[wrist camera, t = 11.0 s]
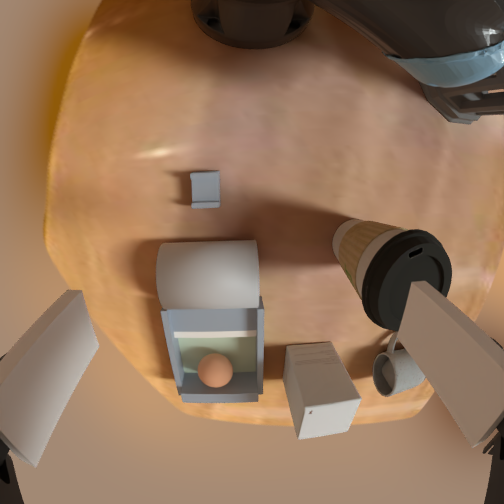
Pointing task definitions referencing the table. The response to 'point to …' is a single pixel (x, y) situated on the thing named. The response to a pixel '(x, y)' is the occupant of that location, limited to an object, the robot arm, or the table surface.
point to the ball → (215, 370)
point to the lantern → (468, 99)
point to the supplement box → (318, 390)
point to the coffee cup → (389, 266)
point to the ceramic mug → (395, 370)
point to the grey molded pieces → (212, 307)
